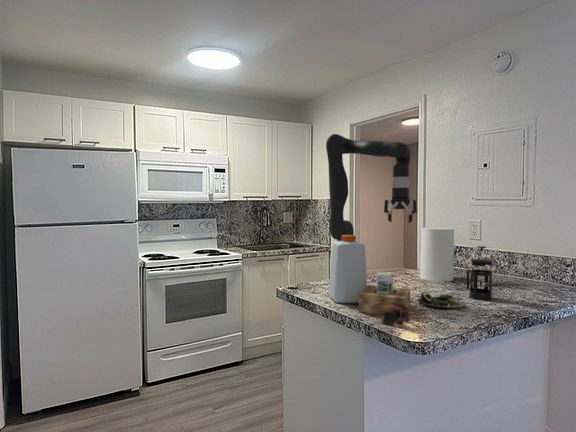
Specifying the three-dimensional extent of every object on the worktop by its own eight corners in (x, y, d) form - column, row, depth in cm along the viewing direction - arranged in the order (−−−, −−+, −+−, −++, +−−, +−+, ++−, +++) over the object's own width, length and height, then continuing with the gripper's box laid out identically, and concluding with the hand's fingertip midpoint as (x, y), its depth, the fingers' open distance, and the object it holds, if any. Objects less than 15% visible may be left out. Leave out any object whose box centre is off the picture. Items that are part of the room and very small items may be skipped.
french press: (498, 299, 177) (499, 247, 176) (486, 301, 172) (487, 248, 171) (473, 293, 187) (474, 244, 186) (461, 296, 181) (462, 245, 180)
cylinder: (458, 281, 215) (459, 229, 214) (426, 281, 215) (427, 229, 214) (446, 275, 232) (447, 227, 231) (416, 275, 232) (417, 227, 231)
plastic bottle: (370, 303, 169) (371, 236, 168) (336, 304, 166) (336, 237, 165) (358, 294, 184) (359, 233, 183) (326, 296, 181) (327, 234, 180)
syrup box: (376, 309, 158) (376, 273, 158) (378, 306, 164) (379, 271, 163) (390, 311, 156) (391, 274, 156) (393, 307, 162) (393, 272, 161)
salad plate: (450, 298, 179) (450, 288, 179) (477, 308, 162) (477, 297, 162) (411, 300, 175) (411, 290, 175) (434, 311, 158) (434, 299, 158)
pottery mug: (374, 321, 145) (381, 300, 148) (396, 332, 146) (403, 310, 149) (391, 322, 134) (398, 299, 136) (415, 334, 135) (421, 310, 138)
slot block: (358, 311, 155) (358, 294, 155) (368, 301, 171) (368, 285, 171) (404, 317, 149) (404, 298, 148) (409, 306, 164) (410, 289, 164)
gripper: (383, 187, 183) (382, 222, 184) (416, 186, 178) (415, 223, 178) (386, 187, 190) (385, 221, 191) (417, 187, 185) (417, 222, 185)
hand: (400, 222), depth 185 cm, fingers open, 8 cm apart
